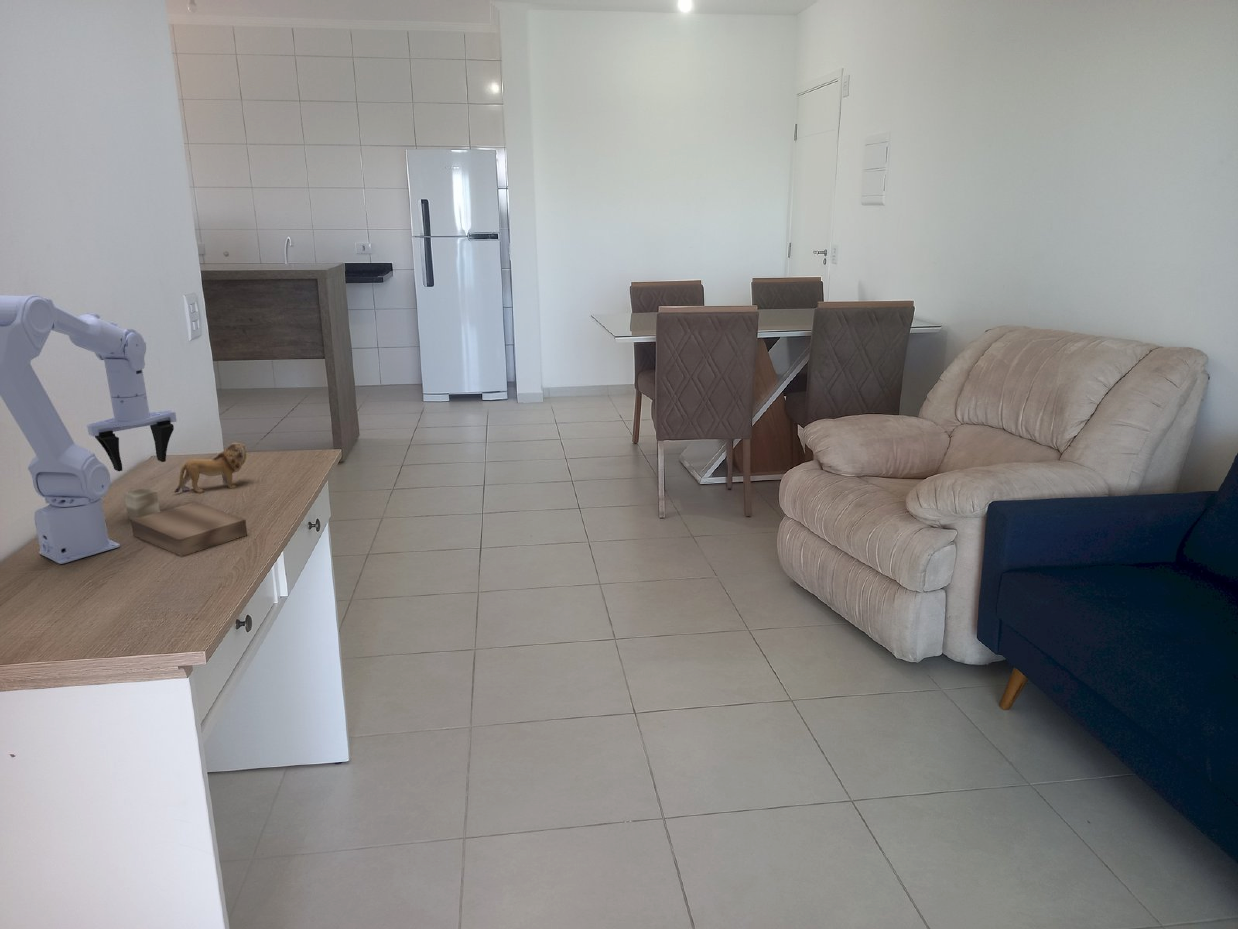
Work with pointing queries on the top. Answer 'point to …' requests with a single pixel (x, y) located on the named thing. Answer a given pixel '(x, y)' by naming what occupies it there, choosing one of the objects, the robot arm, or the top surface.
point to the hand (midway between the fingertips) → (140, 465)
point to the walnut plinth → (189, 528)
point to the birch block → (141, 503)
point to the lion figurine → (214, 467)
